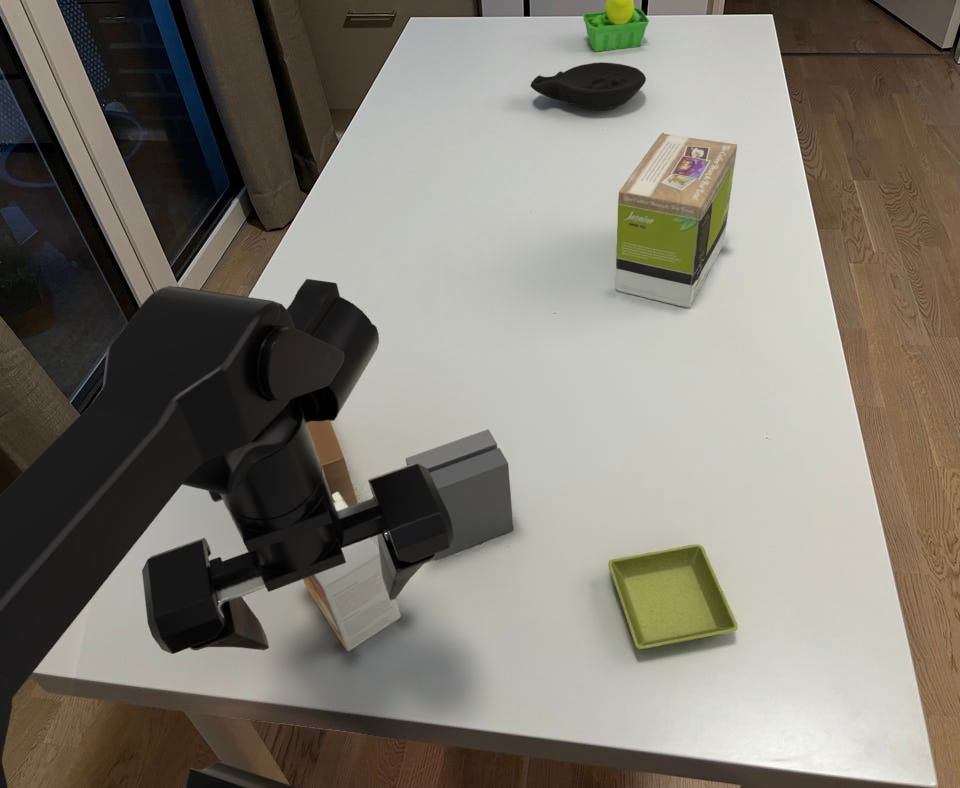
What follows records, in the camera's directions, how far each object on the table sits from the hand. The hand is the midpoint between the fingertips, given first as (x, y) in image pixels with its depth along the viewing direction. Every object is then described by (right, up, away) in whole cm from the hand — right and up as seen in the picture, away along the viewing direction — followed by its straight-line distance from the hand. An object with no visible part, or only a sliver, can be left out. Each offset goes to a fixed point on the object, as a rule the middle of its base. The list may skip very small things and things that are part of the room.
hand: (329, 618), depth 56 cm
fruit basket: (+37, +84, +99) cm, 135 cm away
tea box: (+35, +32, +47) cm, 67 cm away
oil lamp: (+29, +67, +82) cm, 110 cm away
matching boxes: (-6, +7, +26) cm, 27 cm away
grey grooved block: (+9, +3, +20) cm, 23 cm away
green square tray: (+27, -3, +13) cm, 30 cm away
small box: (-1, -3, +16) cm, 16 cm away
